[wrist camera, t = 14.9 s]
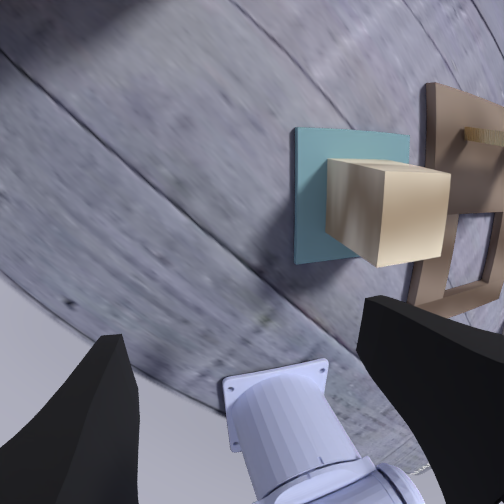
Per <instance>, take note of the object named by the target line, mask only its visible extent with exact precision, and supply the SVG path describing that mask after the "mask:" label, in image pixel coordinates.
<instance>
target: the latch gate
mask: <svg viewBox="0 0 504 504" xmlns="http://www.w3.org/2000/svg"><path fill="white" fill-rule="evenodd" d="M464 140H467V141H472V142H478V143H484V144H490V145H495V146H501V147H504V132H503V131H496V130H489V129H481V128H473V127H465V132H464Z"/></svg>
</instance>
